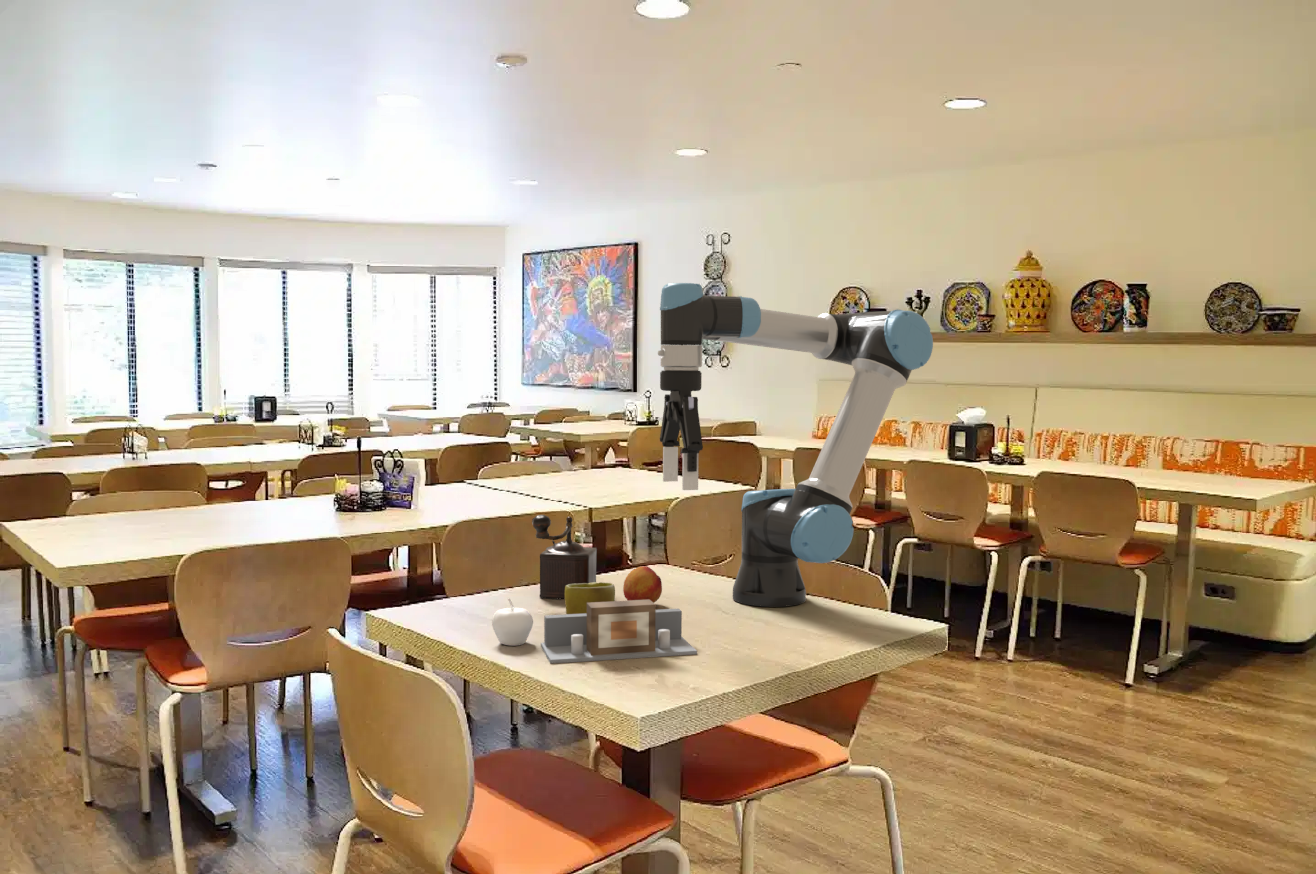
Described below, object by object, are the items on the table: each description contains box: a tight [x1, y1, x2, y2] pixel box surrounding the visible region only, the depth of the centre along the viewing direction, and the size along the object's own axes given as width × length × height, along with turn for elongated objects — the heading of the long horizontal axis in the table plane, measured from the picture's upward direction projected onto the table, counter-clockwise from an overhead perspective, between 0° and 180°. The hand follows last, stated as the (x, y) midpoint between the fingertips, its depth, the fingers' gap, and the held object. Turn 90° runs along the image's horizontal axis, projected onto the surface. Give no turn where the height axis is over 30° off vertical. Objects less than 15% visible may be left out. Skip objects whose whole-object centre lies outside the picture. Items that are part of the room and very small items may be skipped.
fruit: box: [622, 565, 663, 604], centre depth 221 cm, size 8×8×8 cm
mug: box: [564, 581, 616, 614], centre depth 204 cm, size 12×10×10 cm
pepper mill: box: [531, 514, 598, 601], centre depth 228 cm, size 16×11×18 cm
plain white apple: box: [491, 598, 534, 647], centre depth 191 cm, size 7×7×8 cm
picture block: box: [587, 599, 657, 655], centre depth 185 cm, size 11×4×8 cm, turn 105°
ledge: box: [540, 608, 698, 664], centre depth 187 cm, size 25×11×6 cm, turn 104°
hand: (679, 485), depth 200 cm, fingers open, 13 cm apart
